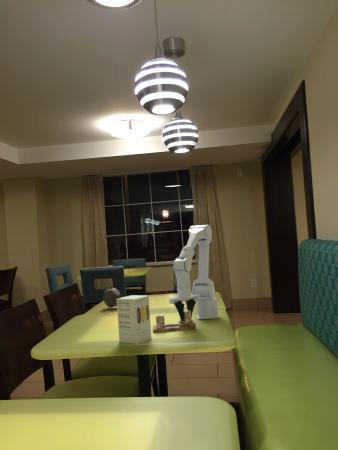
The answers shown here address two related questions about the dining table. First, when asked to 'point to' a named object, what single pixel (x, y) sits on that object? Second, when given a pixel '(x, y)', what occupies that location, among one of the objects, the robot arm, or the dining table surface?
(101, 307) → the dining table surface
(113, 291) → the alarm clock
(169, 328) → the rail base
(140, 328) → the supplement box
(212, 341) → the dining table surface
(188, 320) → the block
